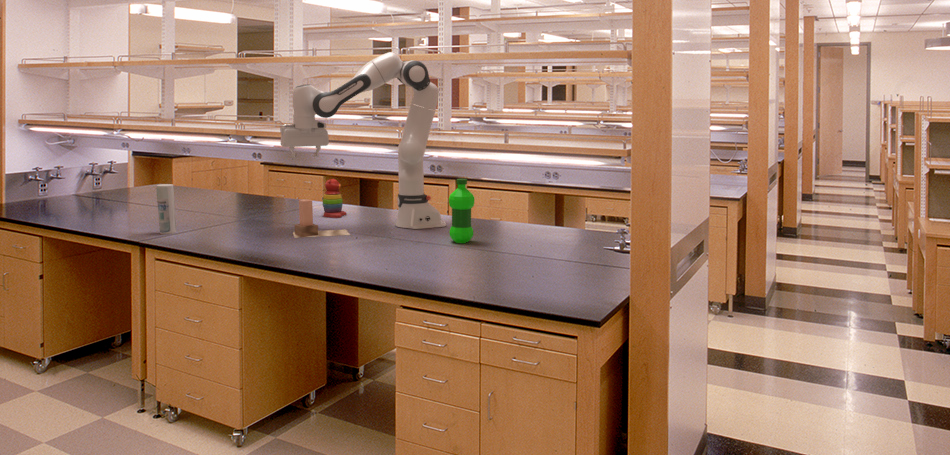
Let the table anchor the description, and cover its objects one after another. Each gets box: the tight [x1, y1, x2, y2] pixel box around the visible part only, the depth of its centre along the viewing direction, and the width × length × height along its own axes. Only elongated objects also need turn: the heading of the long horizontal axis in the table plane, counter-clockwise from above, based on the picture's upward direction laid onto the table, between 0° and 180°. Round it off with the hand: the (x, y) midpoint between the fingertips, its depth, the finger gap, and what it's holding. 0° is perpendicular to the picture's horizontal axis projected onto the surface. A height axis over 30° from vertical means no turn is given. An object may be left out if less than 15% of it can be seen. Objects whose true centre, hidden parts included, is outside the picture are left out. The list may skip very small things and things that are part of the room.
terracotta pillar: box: [298, 199, 314, 226], centre depth 283 cm, size 4×4×10 cm
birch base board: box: [292, 229, 351, 239], centre depth 288 cm, size 22×12×1 cm, turn 108°
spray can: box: [155, 183, 177, 235], centre depth 290 cm, size 6×6×20 cm
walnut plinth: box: [294, 223, 319, 238], centre depth 285 cm, size 7×7×4 cm
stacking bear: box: [322, 178, 347, 219], centre depth 336 cm, size 11×10×18 cm
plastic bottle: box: [448, 178, 475, 244], centre depth 277 cm, size 10×10×25 cm
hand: (305, 157), depth 296 cm, fingers open, 8 cm apart
